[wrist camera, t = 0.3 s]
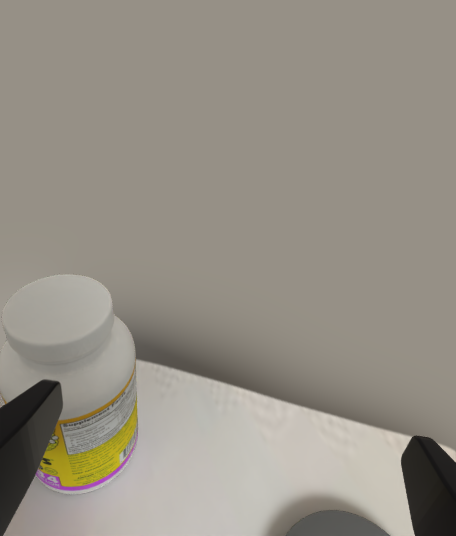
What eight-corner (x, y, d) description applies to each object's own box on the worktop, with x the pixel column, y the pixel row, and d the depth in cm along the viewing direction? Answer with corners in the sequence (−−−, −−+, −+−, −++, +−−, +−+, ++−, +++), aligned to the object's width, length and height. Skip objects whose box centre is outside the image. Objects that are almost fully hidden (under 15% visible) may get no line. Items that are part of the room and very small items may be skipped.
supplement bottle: (22, 426, 25) (-35, 280, 17) (117, 386, 28) (105, 249, 21) (45, 524, 21) (-15, 389, 13) (154, 463, 24) (156, 327, 17)
